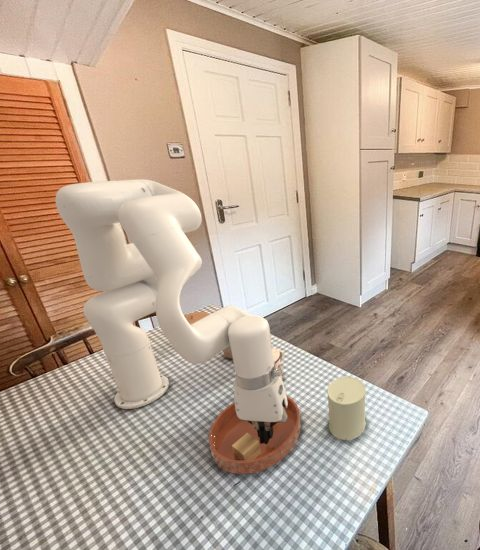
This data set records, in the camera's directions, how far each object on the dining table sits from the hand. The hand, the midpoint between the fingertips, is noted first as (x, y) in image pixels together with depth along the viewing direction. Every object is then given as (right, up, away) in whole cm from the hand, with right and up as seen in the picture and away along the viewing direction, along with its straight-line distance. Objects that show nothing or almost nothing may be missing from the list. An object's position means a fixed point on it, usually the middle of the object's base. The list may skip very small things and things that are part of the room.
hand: (266, 438), depth 69 cm
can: (+18, -1, +7) cm, 19 cm away
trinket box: (-40, +14, +43) cm, 61 cm away
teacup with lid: (-6, +6, +23) cm, 24 cm away
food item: (-18, +10, +33) cm, 39 cm away
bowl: (-3, -1, +4) cm, 5 cm away
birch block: (-4, -3, -2) cm, 5 cm away
